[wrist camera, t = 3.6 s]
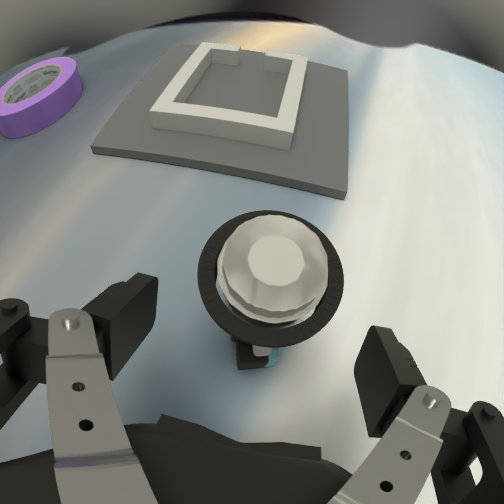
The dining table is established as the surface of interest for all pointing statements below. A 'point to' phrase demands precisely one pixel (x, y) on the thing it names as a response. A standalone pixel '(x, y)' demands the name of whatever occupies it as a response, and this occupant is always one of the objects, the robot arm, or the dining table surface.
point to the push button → (269, 282)
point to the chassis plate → (238, 117)
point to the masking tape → (38, 96)
